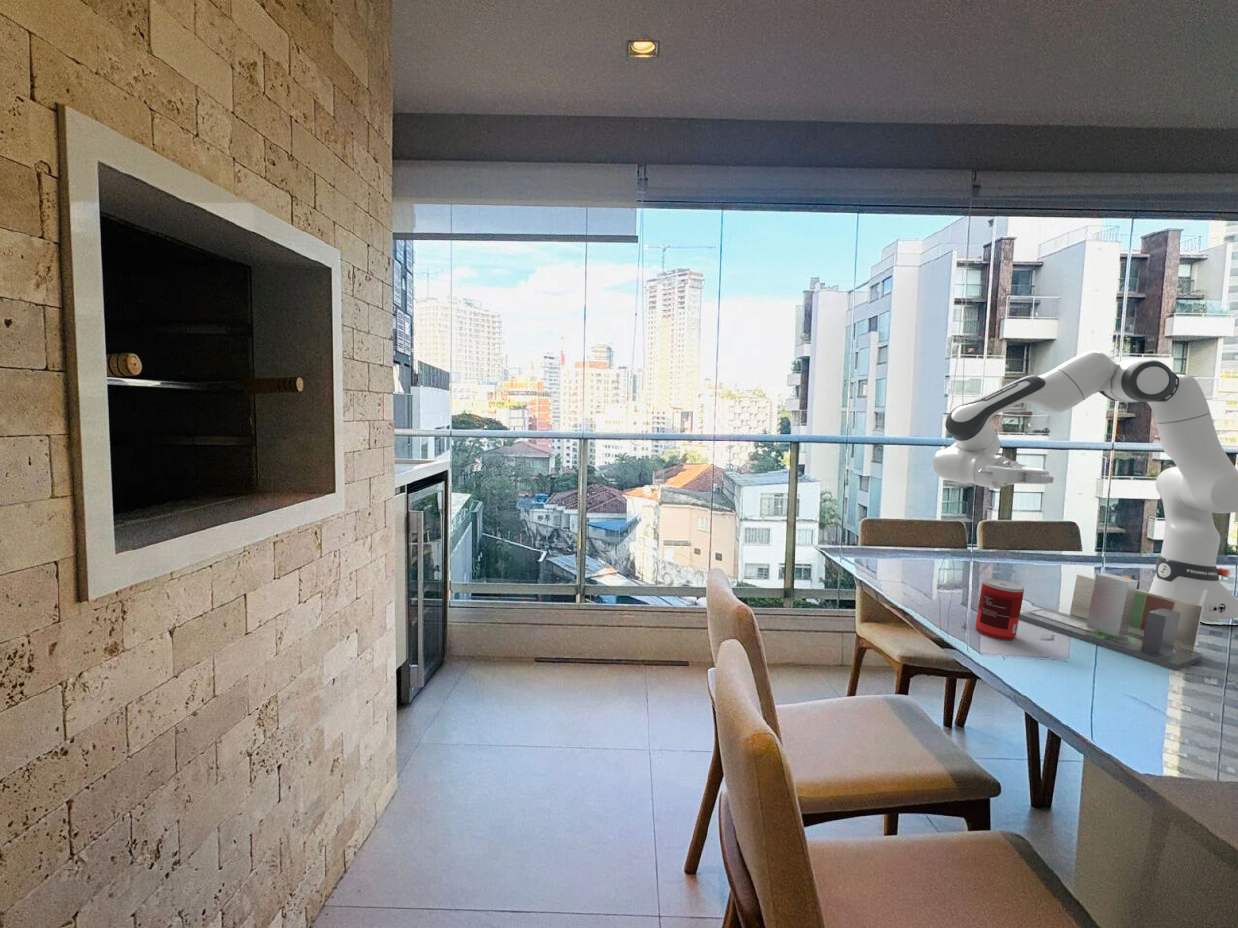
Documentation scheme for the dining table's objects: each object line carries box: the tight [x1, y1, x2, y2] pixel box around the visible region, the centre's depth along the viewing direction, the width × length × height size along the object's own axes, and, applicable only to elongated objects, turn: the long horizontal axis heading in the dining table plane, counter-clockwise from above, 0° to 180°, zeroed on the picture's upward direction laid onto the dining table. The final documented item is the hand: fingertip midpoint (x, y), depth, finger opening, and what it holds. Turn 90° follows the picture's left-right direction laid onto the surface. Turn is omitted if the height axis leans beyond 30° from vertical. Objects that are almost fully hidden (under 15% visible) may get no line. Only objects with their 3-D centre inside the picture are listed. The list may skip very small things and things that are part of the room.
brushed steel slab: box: [1087, 572, 1139, 637], centre depth 146 cm, size 6×8×12 cm
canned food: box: [974, 577, 1025, 641], centre depth 140 cm, size 8×8×11 cm
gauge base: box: [1019, 574, 1204, 671], centre depth 147 cm, size 30×21×10 cm
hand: (1050, 480), depth 164 cm, fingers closed
